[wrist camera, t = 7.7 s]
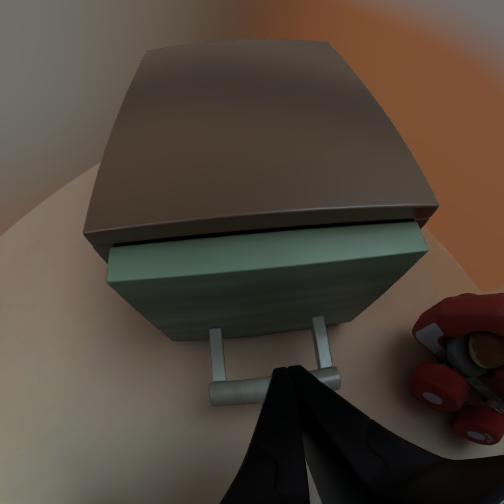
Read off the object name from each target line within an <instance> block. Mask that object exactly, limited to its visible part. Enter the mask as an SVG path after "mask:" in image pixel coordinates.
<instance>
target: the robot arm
mask: <svg viewBox="0 0 504 504" xmlns="http://www.w3.org/2000/svg"><path fill="white" fill-rule="evenodd" d="M305 458H306V461H307V464H308V466H309V469H310V472H311V475H312V477H313V480H314V483H315V485H316V488H317V491H318V494H319V496H320V499H321V502H322V504H504V455H499V456H492V457H484V458H475V459H465V460H452V459H446V458H443V457H440V456H438V455H435V454H433V453H431V452H429V451H427V450H425V449H423V448H421V447H419V446H417V445H415V444H413V443H411V442H409V441H407V440H405V439H403V438H401V437H399V436H397V435H396V434H394V433H392V432H391V431H389V430H387V429H386V428H384V427H383V426H381V425H380V424H378V423H377V422H376V421H374V420H373V419H370V417H368V416H367V415H366V414H364V413H363V412H361V411H360V410H359V409H357V408H356V407H355V406H353V405H352V404H351V403H349V402H348V401H347V400H345V399H344V398H343V397H341V396H340V395H339V394H337V393H336V392H335V391H333V390H332V389H331V388H329V387H328V386H327V385H325V384H324V383H323V382H321V381H320V380H319V379H318V378H316V377H315V376H314V375H312V374H311V373H310V372H309V371H307V370H306V369H305V368H304V367H302V366H301V365H295V366H289V367H288V368H286V367H281V368H275V369H274V370H273V373H272V376H271V380H270V383H269V386H268V390H267V393H266V396H265V399H264V402H263V405H262V409H261V412H260V415H259V418H258V421H257V424H256V427H255V430H254V433H253V436H252V439H251V443H250V444H249V447H248V450H247V453H246V455H245V458H244V460H243V463H242V465H241V467H240V469H239V471H238V473H237V475H236V477H235V478H234V480H233V482H232V484H231V485H230V487H229V489H228V490H227V492H226V494H225V495H224V497H223V498H222V500H221V502H220V503H219V504H310V500H309V499H310V496H309V487H308V478H307V469H306V461H305Z"/></svg>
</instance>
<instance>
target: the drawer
mask: <svg viewBox="0 0 504 504" xmlns="http://www.w3.org/2000/svg"><path fill="white" fill-rule="evenodd" d="M370 223H371V221H361V222H346V223H332V224H318V225H305V226H292V227H279V228H267V229H255V230H244V231H233V232H222V233H211V234H200V235H190V236H180V237H170V238H161V239H151V240H149V241H150V242H151V243H150V244H141V245H131V246H122V247H113V248H110V251H109V259H108V268H107V278H106V282H107V283H108V284H109V285H110V286H111V287H112V288H113V289H114V290H115V291H116V292H117V293H118V294H119V295H120V296H121V297H123V298H124V299H125V300H126V301H127V302H128V303H129V304H130V305H131V306H132V307H134V308H135V309H136V310H137V311H138V312H139V313H140V314H141V315H143V316H144V317H145V318H146V319H147V320H148V321H150V322H151V323H152V324H153V325H154V326H155V327H157V328H158V329H159V330H160V331H161V332H163V333H164V334H165V335H166V336H167V337H169V338H170V339H171V340H172V341H185V340H201V339H210V352H211V364H212V375H213V381H214V382H210V383H209V398H210V403H211V406H212V407H220V406H234V405H245V404H255V403H263V402H264V399H265V396H266V393H267V390H268V386H269V383H270V380H271V377H265V378H256V379H247V380H236V381H227V378H226V368H225V357H224V347H223V338H227V337H238V336H248V335H258V334H267V333H275V332H283V331H291V330H298V329H306V328H311V330H312V335H313V341H314V347H315V353H316V360H317V366H318V370H313V371H309V372H310V373H311V374H312V375H314V376H315V377H316V378H318V379H319V380H320V381H321V382H323V383H324V384H325V385H327V386H328V387H329V388H331V389H332V390H333V391H336V390H339V389H340V385H341V379H340V374H339V371H338V369H337V368H336V367H332V361H331V355H330V349H329V343H328V338H327V332H326V327H325V326H326V325H332V324H338V323H344V322H350V321H352V320H353V319H354V318H355V317H357V316H358V315H359V314H360V313H361V312H363V311H364V310H365V309H366V308H367V307H368V306H370V305H371V304H372V303H373V302H374V301H375V300H377V299H378V298H379V297H380V296H381V295H382V294H383V293H384V292H386V291H387V290H388V289H389V288H390V287H391V286H392V285H393V284H394V283H395V282H396V281H398V280H399V279H400V278H401V277H402V276H403V275H404V274H405V273H406V272H407V271H408V270H409V269H410V268H411V267H412V266H413V265H414V264H415V263H416V262H417V261H418V260H419V259H420V258H421V257H422V256H423V255H424V254H425V253H426V252H427V251H428V248H427V245H426V242H425V240H424V237H423V235H422V232H421V230H420V227H419V225H418V223H417V222H401V223H386V224H371V225H370Z"/></svg>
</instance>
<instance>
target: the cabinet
mask: <svg viewBox="0 0 504 504" xmlns="http://www.w3.org/2000/svg"><path fill="white" fill-rule="evenodd" d="M438 207H439V203H438V201H437V199H436V197H435V195H434V193H433V191H432V189H431V187H430V185H429V183H428V182H427V180H426V178H425V176H424V174H423V172H422V170H421V169H420V167H419V165H418V164H417V162H416V160H415V158H414V157H413V155H412V153H411V151H410V150H409V148H408V147H407V145H406V143H405V142H404V140H403V139H402V137H401V135H400V134H399V132H398V131H397V129H396V128H395V126H394V125H393V123H392V122H391V120H390V119H389V117H388V116H387V115H386V113H385V112H384V110H383V109H382V107H381V106H380V105H379V103H378V102H377V101H376V99H375V98H374V97H373V95H372V94H371V93H370V91H369V90H368V89H367V87H366V86H365V85H364V83H363V82H362V81H361V80H360V78H359V77H358V76H357V75H356V74H355V72H354V71H353V70H352V69H351V68H350V66H349V65H348V64H347V63H346V62H345V60H344V59H343V58H342V57H341V56H340V55H339V54H338V52H337V51H336V50H335V49H334V48H333V47H332V46H331V45H330V44H329V43H327V42H317V41H304V40H283V39H248V40H247V39H246V40H226V41H213V42H202V43H193V44H186V45H178V46H172V47H166V48H160V49H154V50H149V51H146V53H145V54H144V56H143V58H142V60H141V62H140V64H139V66H138V69H137V71H136V73H135V75H134V77H133V79H132V81H131V84H130V86H129V88H128V91H127V93H126V95H125V98H124V100H123V102H122V105H121V107H120V110H119V112H118V115H117V118H116V120H115V123H114V125H113V128H112V131H111V134H110V136H109V139H108V142H107V145H106V148H105V151H104V154H103V157H102V160H101V164H100V167H99V170H98V174H97V177H96V181H95V184H94V188H93V192H92V196H91V199H90V204H89V208H88V212H87V216H86V221H85V225H84V230H83V235H84V236H85V237H86V239H87V240H88V241H89V242H90V243H91V245H93V248H94V249H95V250H96V251H97V253H98V254H99V255H100V256H101V257H102V258H103V260H104V261H105V262H106V263H107V264H108V259H109V251H110V248H113V247H122V246H131V245H141V244H150V243H151V242H150V241H149V240H151V239H161V238H170V237H180V236H190V235H200V234H211V233H222V232H233V231H244V230H255V229H267V228H279V227H292V226H305V225H318V224H332V223H346V222H361V221H371V223H370V225H371V224H386V223H401V222H417V223H418V225H419V227H420V230H421V228H422V227H423V226H424V225H425V224H426V222H427V221H428V220H429V217H431V216H432V215H433V213H434V212H435V211H436V210H437V208H438Z"/></svg>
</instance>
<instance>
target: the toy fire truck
mask: <svg viewBox="0 0 504 504" xmlns="http://www.w3.org/2000/svg"><path fill="white" fill-rule="evenodd" d="M412 334H413V336H414V338H415V339H416V340H417V341H418V342H419V343H420V344H421V345H422V346H424V347H425V348H426V349H427V350H428V351H430V352H431V353H432V354H433V355H434V356H435V357H436V358H437V360H438V363H435V362H424V363H421V364H420V365H419V366H418V367H417V368H416V370H415V371H414V373H413V375H412V377H411V378H410V380H409V384H408V386H409V389H410V391H411V393H412V394H413V395H414V396H415V397H416V398H417V399H419V400H420V401H421V402H423V403H425V404H426V405H428V406H430V407H432V408H435V409H437V410H440V411H446V412H453V411H457V410H459V409H460V407H461V406H462V405H463V403H464V401H465V399H466V397H467V395H468V393H469V389H470V386H471V387H472V388H473V389H475V390H476V391H477V392H478V393H479V394H480V395H481V400H482V401H483V402H484V403H485V404H484V406H482V405H473V404H471V405H466V406H465V407H463V408H462V409H461V411H460V412H459V414H458V416H457V418H456V420H455V422H454V429H455V431H456V432H457V433H458V434H459V435H461V436H462V437H464V438H465V439H467V440H470V441H472V442H475V443H478V444H482V445H493V444H496V443H498V442H499V441H500V440H501V438H502V437H503V434H504V415H503V414H504V293H498V294H487V295H476V294H472V293H465V294H460V295H458V296H455V297H448V298H445V299H443V300H442V301H440V302H439V303H437V304H436V305H434V306H433V307H431V308H430V309H428V310H427V311H425V312H424V313H422V315H421V316H420V317H419V319H418V321H417V322H416V324H415V325H414V327H413V329H412ZM495 408H496V409H497V410H499V411H500V412H501V413H500V412H499V411H497V410H495Z"/></svg>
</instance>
